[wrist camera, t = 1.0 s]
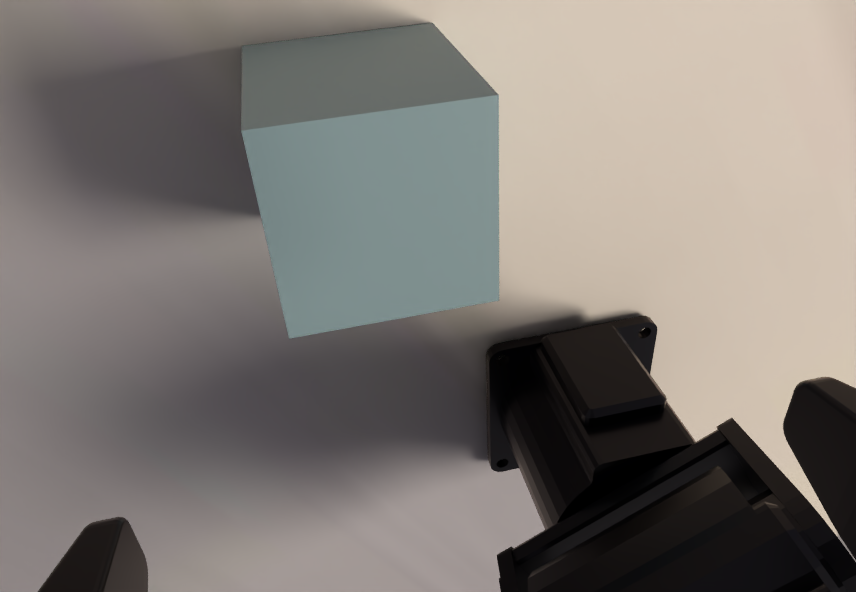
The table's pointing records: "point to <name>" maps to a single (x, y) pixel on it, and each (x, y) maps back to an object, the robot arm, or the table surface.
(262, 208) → the slate block
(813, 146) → the table surface
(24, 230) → the table surface
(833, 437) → the robot arm
